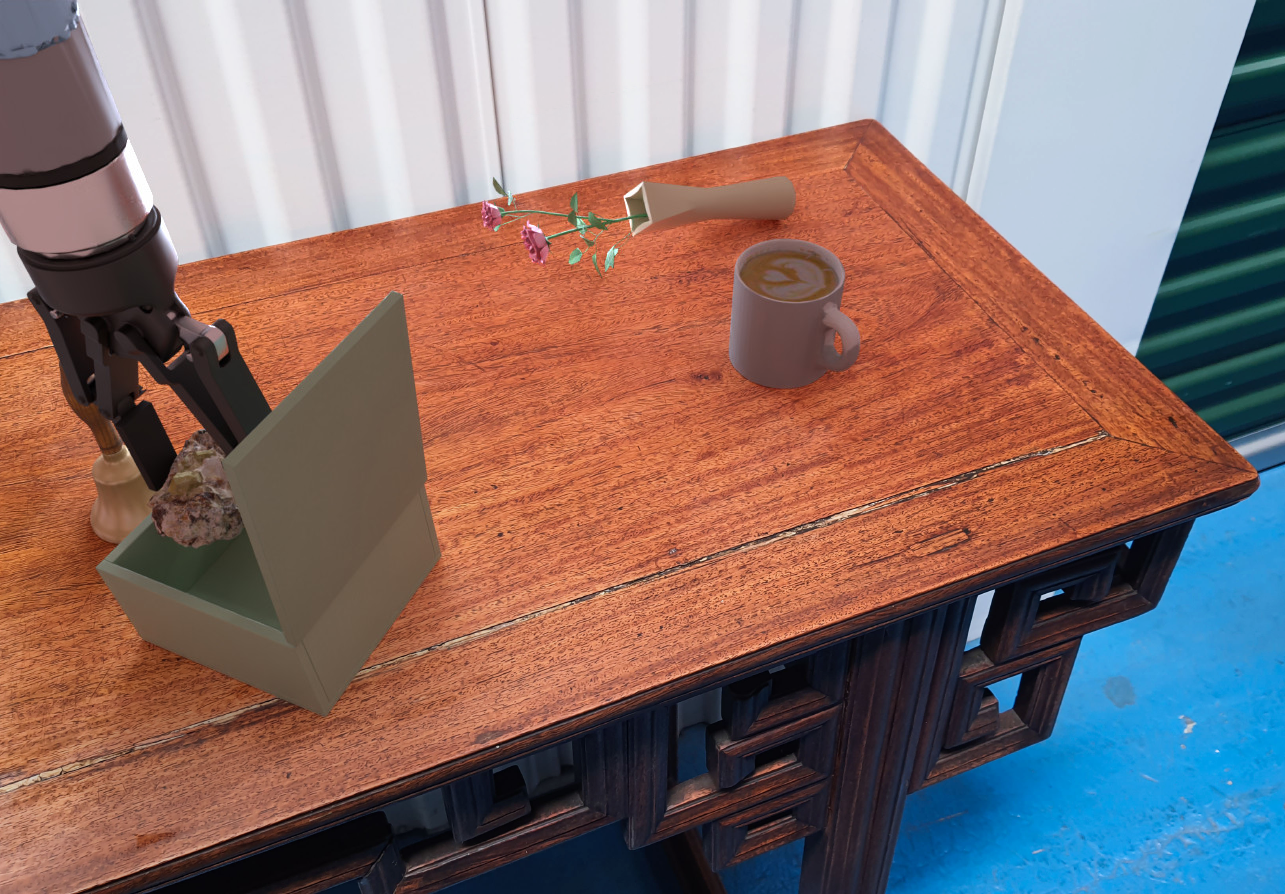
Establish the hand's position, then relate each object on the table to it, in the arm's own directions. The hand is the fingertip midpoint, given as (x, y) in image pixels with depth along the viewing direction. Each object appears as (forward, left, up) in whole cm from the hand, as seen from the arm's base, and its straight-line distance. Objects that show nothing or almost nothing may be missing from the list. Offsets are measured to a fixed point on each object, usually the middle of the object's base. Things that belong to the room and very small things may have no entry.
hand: (215, 495), depth 71 cm
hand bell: (-14, +3, -10) cm, 17 cm away
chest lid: (+13, 0, +8) cm, 15 cm away
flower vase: (+11, +52, -10) cm, 55 cm away
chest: (+4, 0, -10) cm, 11 cm away
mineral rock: (0, 0, 0) cm, 1 cm away
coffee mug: (+31, +41, -10) cm, 52 cm away
